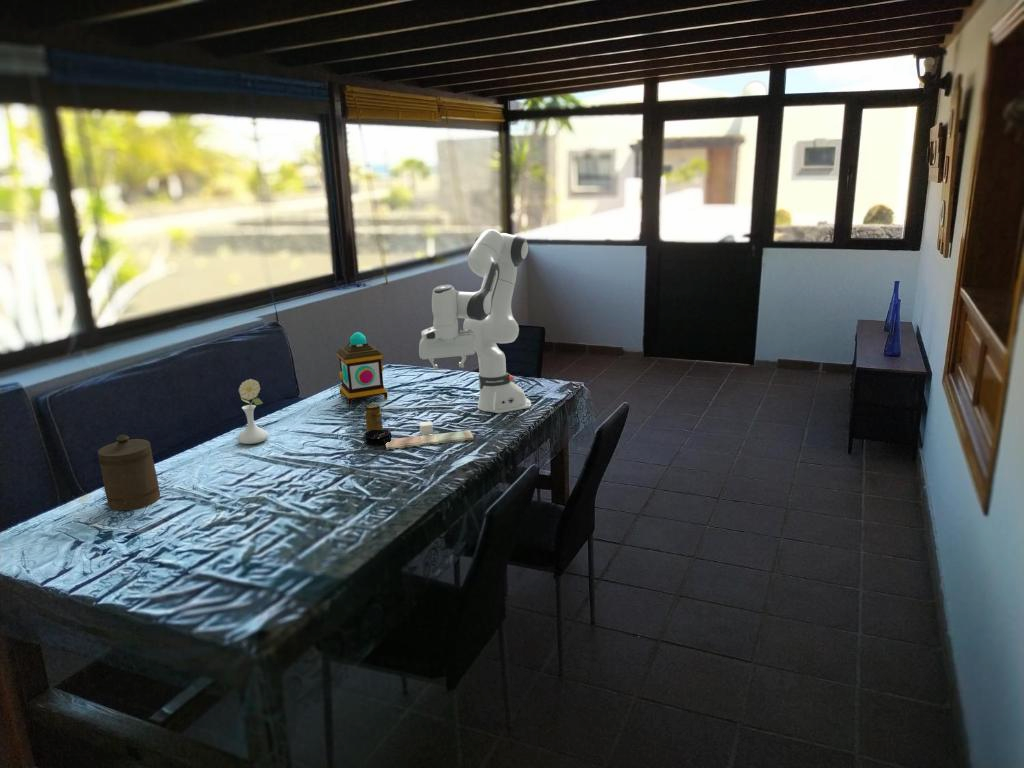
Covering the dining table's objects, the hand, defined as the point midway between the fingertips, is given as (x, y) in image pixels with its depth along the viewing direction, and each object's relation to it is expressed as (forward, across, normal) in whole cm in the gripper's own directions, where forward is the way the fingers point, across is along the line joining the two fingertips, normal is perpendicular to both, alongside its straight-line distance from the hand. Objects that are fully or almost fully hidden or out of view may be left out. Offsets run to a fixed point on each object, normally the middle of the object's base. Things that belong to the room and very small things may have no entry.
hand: (448, 368), depth 269 cm
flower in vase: (+27, +73, -21) cm, 81 cm away
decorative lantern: (+27, +31, -64) cm, 76 cm away
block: (+27, +9, -9) cm, 30 cm away
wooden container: (+27, +105, +23) cm, 111 cm away
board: (+27, +9, 0) cm, 28 cm away
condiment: (+27, +28, -12) cm, 41 cm away
